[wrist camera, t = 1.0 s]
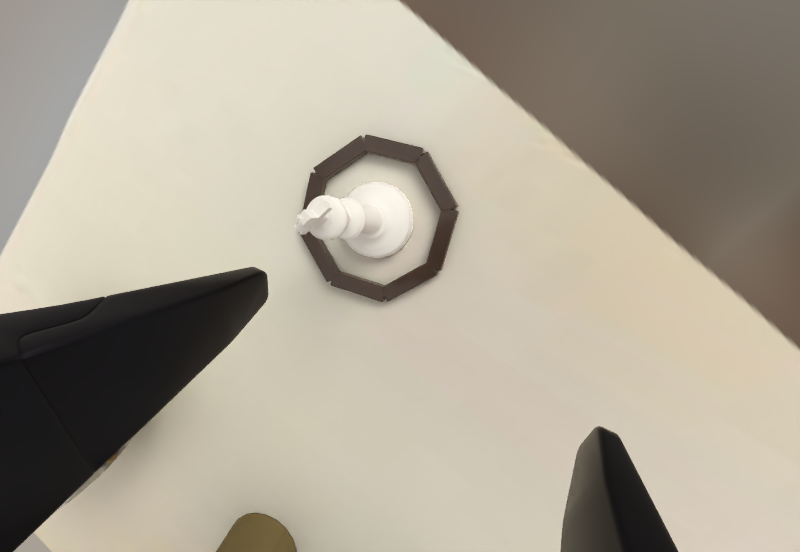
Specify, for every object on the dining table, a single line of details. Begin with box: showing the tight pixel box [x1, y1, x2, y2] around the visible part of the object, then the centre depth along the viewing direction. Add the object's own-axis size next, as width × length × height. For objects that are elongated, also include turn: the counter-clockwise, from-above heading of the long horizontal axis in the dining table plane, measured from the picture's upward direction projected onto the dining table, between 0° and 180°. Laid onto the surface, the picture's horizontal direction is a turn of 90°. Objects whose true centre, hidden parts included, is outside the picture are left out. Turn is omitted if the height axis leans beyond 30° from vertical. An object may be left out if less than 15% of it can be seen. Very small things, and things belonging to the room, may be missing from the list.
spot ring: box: [301, 135, 459, 302], centre depth 24 cm, size 10×10×1 cm
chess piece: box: [294, 182, 413, 258], centre depth 20 cm, size 5×5×10 cm
